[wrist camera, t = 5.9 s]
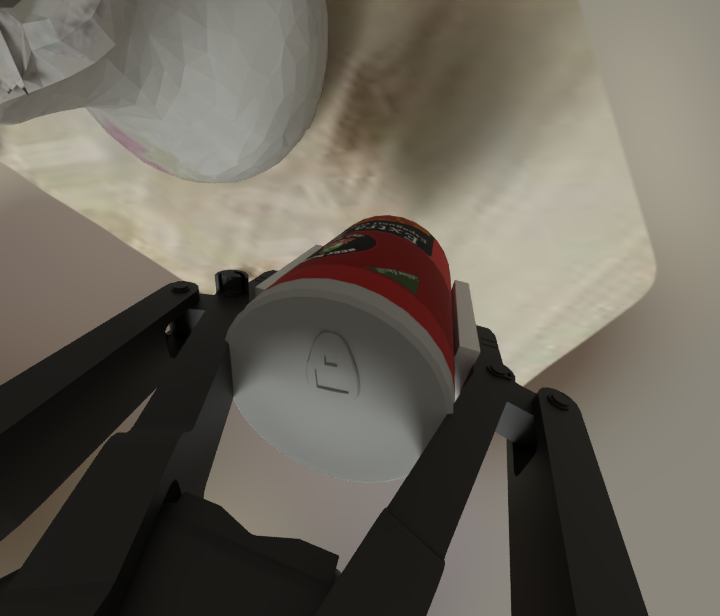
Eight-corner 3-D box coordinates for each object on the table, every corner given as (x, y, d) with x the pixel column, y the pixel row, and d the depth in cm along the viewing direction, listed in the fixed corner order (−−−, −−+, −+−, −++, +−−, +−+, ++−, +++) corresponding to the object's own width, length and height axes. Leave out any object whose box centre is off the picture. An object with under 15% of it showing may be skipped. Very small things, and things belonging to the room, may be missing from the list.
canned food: (440, 197, 15) (432, 264, 6) (458, 324, 18) (470, 498, 9) (316, 227, 18) (174, 306, 9) (349, 334, 21) (273, 476, 12)
